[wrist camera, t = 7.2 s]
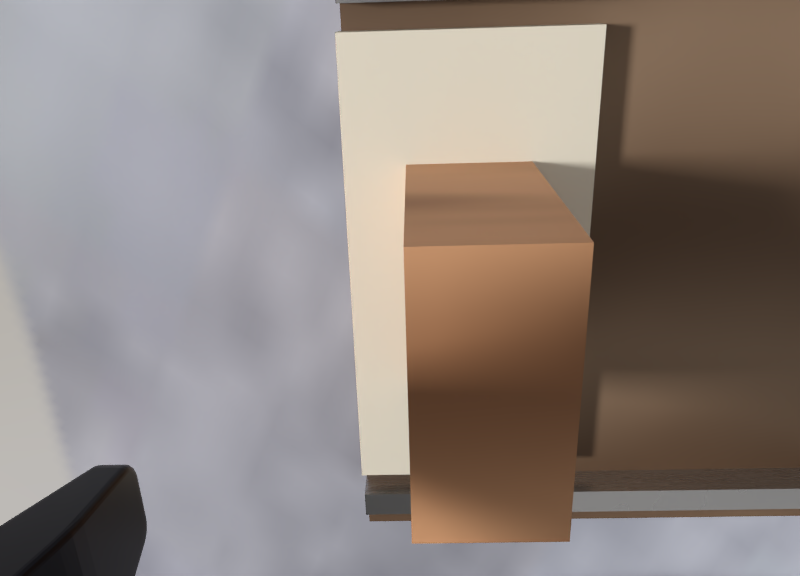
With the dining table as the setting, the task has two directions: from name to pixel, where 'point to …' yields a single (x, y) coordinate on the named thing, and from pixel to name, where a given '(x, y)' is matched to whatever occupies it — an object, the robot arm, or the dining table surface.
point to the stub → (472, 266)
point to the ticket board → (675, 254)
